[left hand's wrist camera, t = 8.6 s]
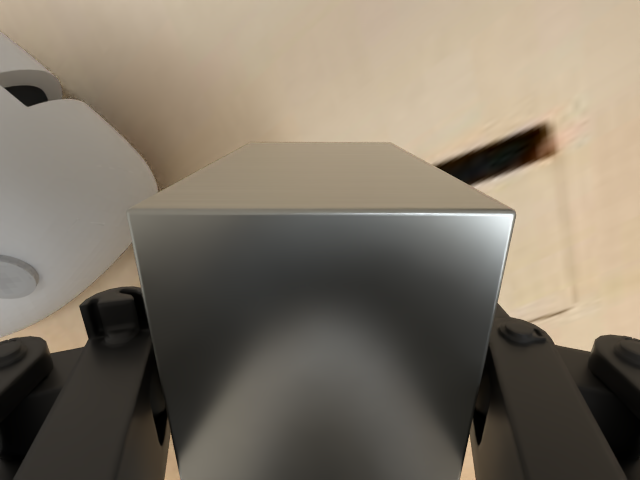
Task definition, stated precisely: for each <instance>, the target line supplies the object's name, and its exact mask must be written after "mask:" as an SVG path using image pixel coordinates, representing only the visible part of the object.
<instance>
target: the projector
mask: <svg viewBox="0 0 640 480" xmlns="http://www.w3.org/2000/svg"><path fill="white" fill-rule="evenodd" d="M156 193H158V188H157V183H156V181H155V178H154V176H153V174H152V172H151V170H150V168H149V166H148V165H147V163H146V162H145V161H144V159H143V158H142V157H141V155H140V154H139V153H138V152H137V151H136V150H135V149H134V148H133V147H132V146H131V145H130V144H129V143H128V142H127V141H126V140H125V139H124V138H123V137H122V136H121V135H120V134H119V133H118V132H117V131H116V130H115V129H114V128H113V127H112V126H111V125H110V124H108V123H107V122H106V121H105V120H104V119H103V118H102V117H101V116H100V115H99V114H97V113H96V112H95V111H94V110H93V109H92V108H91V107H90V106H88V105H87V104H86V103H84V102H82V101H80V100H75V99H62V87H61V84H60V82H59V80H58V79H57V78H56V77H55V76H54V75H53V74H52V73H51V72H50V71H49V70H47V69H46V68H45V67H44V66H43V65H42V64H40V63H39V62H38V61H37V60H36V59H35V58H33V57H32V56H31V55H30V54H29V53H27V52H26V51H25V50H24V49H23V48H21V47H20V46H19V45H18V44H16V43H15V42H14V41H12V40H11V39H10V38H9V37H7V36H6V35H5V34H3V33H2V32H1V31H0V338H1V337H4V336H6V335H9V334H12V333H14V332H17V331H19V330H22V329H24V328H26V327H28V326H30V325H33V324H35V323H37V322H38V321H40V320H42V319H44V318H46V317H47V316H49V315H51V314H52V313H54V312H56V311H57V310H59V309H60V308H62V307H63V306H64V305H66V304H67V303H68V302H70V301H71V300H73V299H74V298H75V297H76V296H78V295H79V294H80V293H81V292H83V291H84V290H85V289H86V288H87V287H88V286H90V285H91V284H92V283H93V282H94V281H95V280H96V279H97V278H98V277H100V276H101V275H102V274H103V273H104V272H105V271H106V270H107V269H108V268H109V267H110V266H111V265H112V264H113V263H114V262H115V261H116V260H117V259H118V258H119V257H120V255H121V254H122V253H123V252H124V251H125V250H126V249H127V248H128V247H129V246H130V244H131V243H132V240H131V235H130V230H129V226H128V221H127V216H126V212H127V209H129V208H130V207H132V206H134V205H136V204H138V203H140V202H141V201H143V200H145V199H147V198H149V197H151V196H152V195H154V194H156Z"/></svg>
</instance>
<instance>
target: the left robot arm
mask: <svg viewBox="0 0 640 480" xmlns="http://www.w3.org/2000/svg"><path fill="white" fill-rule="evenodd" d="M79 307H80V310H81V314H82V317H83V321H84V324H85V328H86V331H87V335H88V338H89V339H88V341H87V343H86V345H85V347H81V348H76V349H71V350H66V351H61V352H55V353H50V352H49V349H48V346H47V343H46V341H45V340H43V339H42V338H41V337H32V336H29V337H20V338H12V339H9V340H5V341H2V342H0V480H164V478H165V470H166V463H167V455H168V448H169V441H170V433H171V430H170V425H169V421H168V416H167V411H166V406H165V401H164V396H163V391H162V386H161V382H160V377H159V372H158V367H157V362H156V357H155V352H154V347H153V343H152V338H151V333H150V328H149V323H148V318H147V313H146V308H145V304H144V299H143V294H142V289H141V288H139V287H119V288H114V289H109V290H106V291H103V292H100V293H97V294H95V295H93V296H92V297H90V298H88V299H86V300H85V301H84V302H83V303H82V304H81V305H80V306H79ZM470 440H471V447H472V455H473V462H474V469H475V477H476V480H640V340H638V339H635V338H634V339H632V337H627V336H618V335H604V336H600V337H598V338H597V339H596V340H595V342H594V345H593V348H592V350H591V352H588V351H583V350H578V349H572V348H567V347H562V346H558V345H555V344H554V342H553V341H552V339H551V338H550V336H549V335H548V334H547V333H546V332H545V331H544V330H542V329H541V328H539V327H538V326H536V325H534V324H532V323H529V322H527V321H524V320H521V319H516V318H512V317H510V316H509V315H508V314H507V313H506V312H505V311H504V310H503V309H502V307H501V306H500V305H499V304H498V303H497V307H496V312H495V316H494V321H493V326H492V330H491V335H490V340H489V344H488V349H487V354H486V359H485V363H484V368H483V373H482V377H481V382H480V387H479V391H478V396H477V401H476V405H475V410H474V415H473V420H472V424H471V429H470Z"/></svg>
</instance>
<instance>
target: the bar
mask: <svg viewBox="0 0 640 480" xmlns="http://www.w3.org/2000/svg"><path fill="white" fill-rule="evenodd" d="M126 216H127V221H128V226H129V230H130V235H131V240H132V245H133V250H134V255H135V260H136V265H137V269H138V274H139V279H140V284H141V289H142V294H143V299H144V304H145V308H146V313H147V318H148V323H149V328H150V333H151V338H152V343H153V347H154V352H155V357H156V362H157V367H158V372H159V377H160V382H161V386H162V391H163V396H164V401H165V406H166V411H167V416H168V421H169V425H170V430H171V435H172V440H173V445H174V450H175V455H176V460H177V464H178V469H179V474H180V479H181V480H460V476H461V471H462V466H463V462H464V457H465V452H466V448H467V443H468V438H469V434H470V429H471V424H472V420H473V415H474V410H475V405H476V401H477V396H478V391H479V387H480V382H481V377H482V373H483V368H484V363H485V359H486V354H487V349H488V344H489V340H490V335H491V330H492V326H493V321H494V316H495V312H496V307H497V302H498V298H499V293H500V288H501V283H502V279H503V274H504V269H505V265H506V260H507V255H508V251H509V246H510V241H511V237H512V232H513V227H514V222H515V218H516V212H515V210H514V209H512V208H510V207H508V206H506V205H504V204H503V203H501V202H499V201H497V200H495V199H493V198H492V197H490V196H488V195H486V194H484V193H482V192H481V191H479V190H477V189H475V188H473V187H471V186H470V185H468V184H466V183H464V182H462V181H460V180H459V179H457V178H455V177H453V176H451V175H449V174H448V173H446V172H444V171H442V170H440V169H438V168H437V167H435V166H433V165H431V164H429V163H427V162H426V161H424V160H422V159H420V158H418V157H416V156H415V155H413V154H411V153H409V152H407V151H405V150H403V149H402V148H400V147H398V146H396V145H394V144H392V143H390V142H250V143H248V144H246V145H244V146H242V147H240V148H239V149H237V150H235V151H233V152H231V153H229V154H228V155H226V156H224V157H222V158H220V159H218V160H217V161H215V162H213V163H211V164H209V165H207V166H206V167H204V168H202V169H200V170H198V171H196V172H195V173H193V174H191V175H189V176H187V177H185V178H184V179H182V180H180V181H178V182H176V183H174V184H173V185H171V186H169V187H167V188H165V189H163V190H162V191H160V192H158V193H156V194H154V195H152V196H151V197H149V198H147V199H145V200H143V201H141V202H140V203H138V204H136V205H134V206H132V207H130V208H129V209H127V212H126Z"/></svg>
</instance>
